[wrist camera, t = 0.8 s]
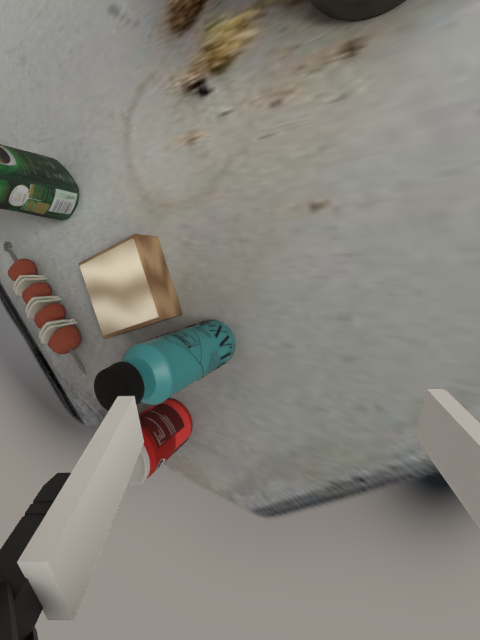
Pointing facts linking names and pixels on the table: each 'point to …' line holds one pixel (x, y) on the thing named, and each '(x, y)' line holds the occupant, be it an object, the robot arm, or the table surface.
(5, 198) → the coffee jar
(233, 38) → the table surface
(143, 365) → the beverage bottle
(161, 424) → the canned food
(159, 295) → the walnut pedestal
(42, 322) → the skewer
